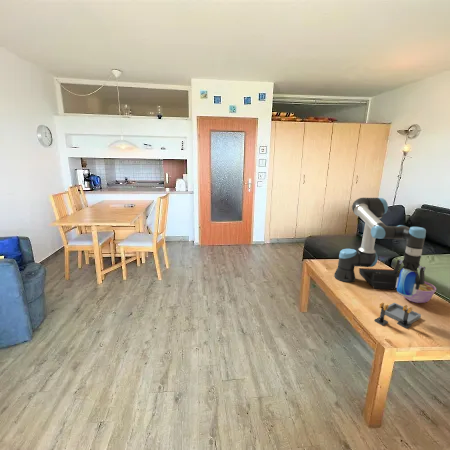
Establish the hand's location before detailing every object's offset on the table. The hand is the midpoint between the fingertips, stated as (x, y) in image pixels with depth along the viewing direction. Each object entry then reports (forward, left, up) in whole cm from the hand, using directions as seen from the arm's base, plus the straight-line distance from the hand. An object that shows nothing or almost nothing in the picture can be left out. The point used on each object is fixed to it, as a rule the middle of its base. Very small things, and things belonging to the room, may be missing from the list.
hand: (405, 290), depth 150 cm
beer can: (0, 0, -3) cm, 3 cm away
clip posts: (+2, -12, -17) cm, 21 cm away
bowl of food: (-5, +28, -17) cm, 33 cm away
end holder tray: (0, 0, -17) cm, 17 cm away
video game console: (-30, +37, -18) cm, 50 cm away
